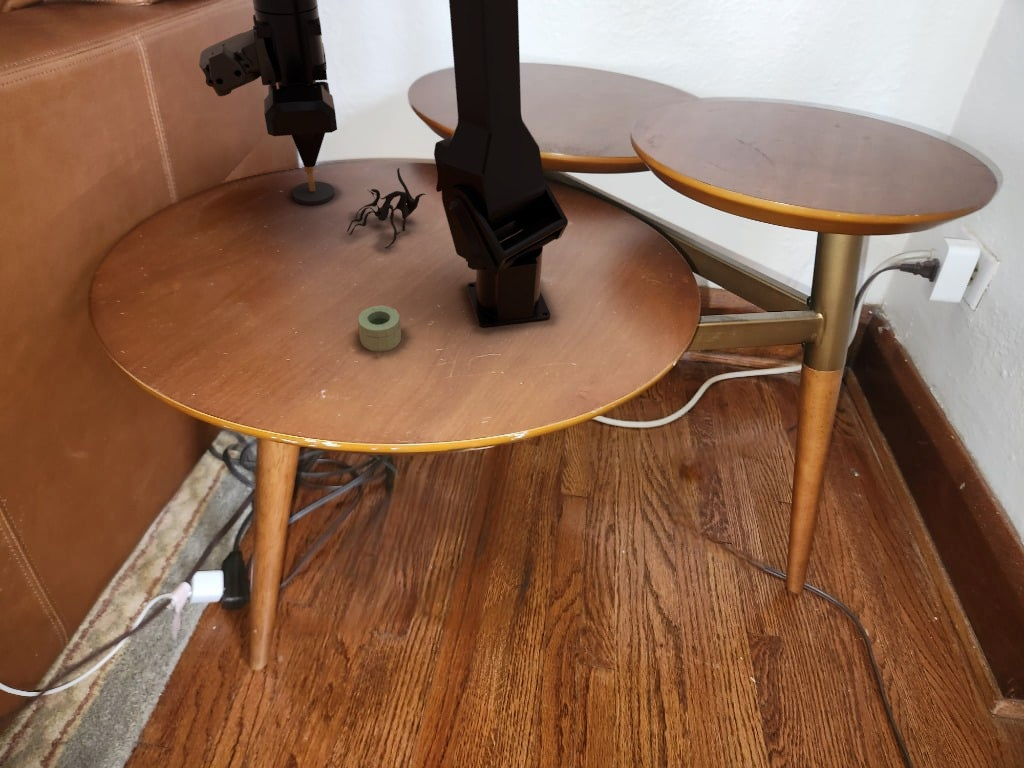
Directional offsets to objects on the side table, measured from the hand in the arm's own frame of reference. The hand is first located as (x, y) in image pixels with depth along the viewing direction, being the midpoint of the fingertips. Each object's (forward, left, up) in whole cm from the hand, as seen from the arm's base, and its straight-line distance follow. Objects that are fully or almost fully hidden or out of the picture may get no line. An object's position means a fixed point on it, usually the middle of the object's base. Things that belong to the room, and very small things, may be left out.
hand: (309, 163), depth 82 cm
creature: (-8, -6, -4) cm, 11 cm away
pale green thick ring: (-26, -4, -4) cm, 27 cm away
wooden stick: (0, 0, -3) cm, 3 cm away
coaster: (0, 0, -4) cm, 4 cm away
